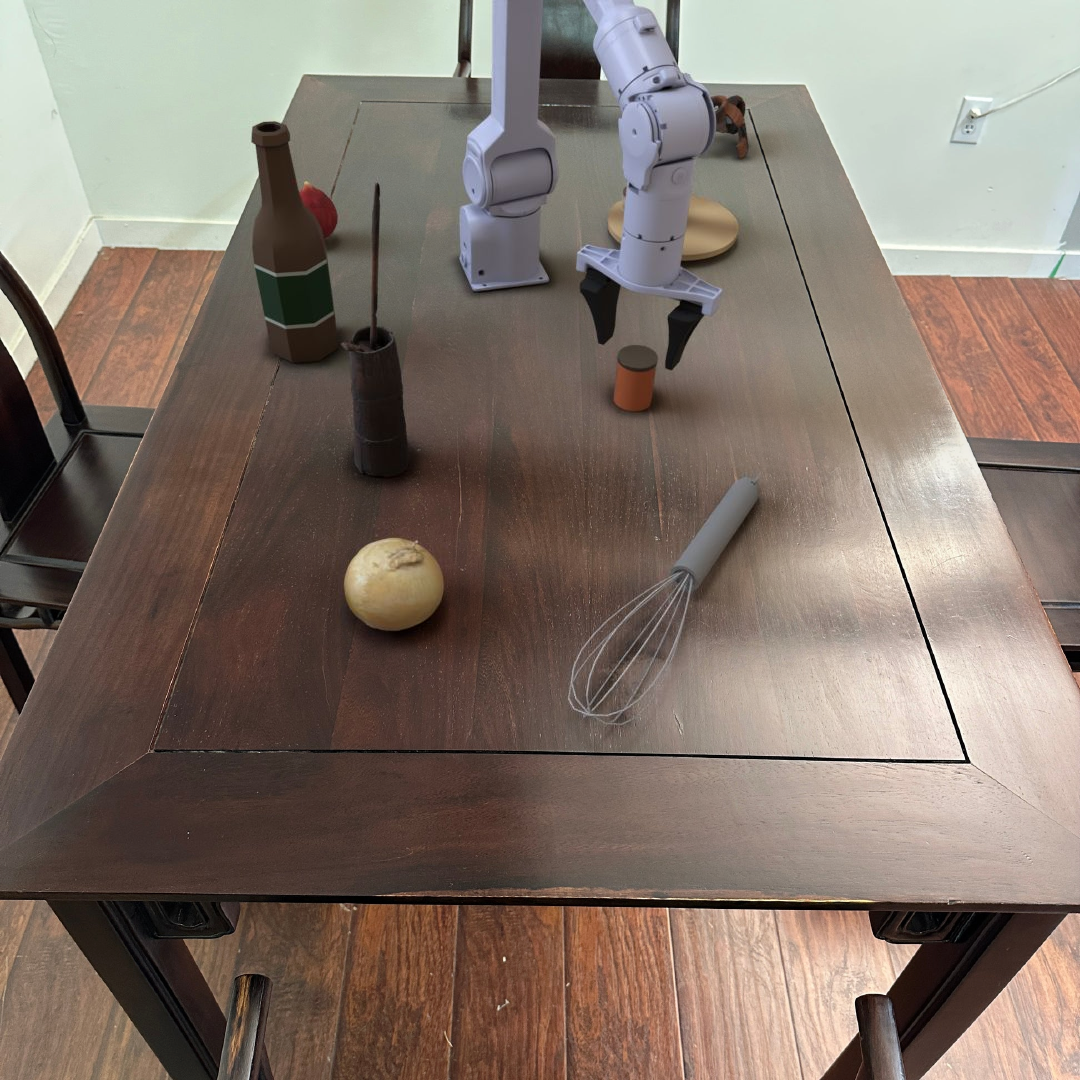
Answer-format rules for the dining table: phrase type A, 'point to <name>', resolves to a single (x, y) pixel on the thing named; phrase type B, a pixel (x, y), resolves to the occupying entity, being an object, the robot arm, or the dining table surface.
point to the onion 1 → (320, 208)
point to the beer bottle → (290, 256)
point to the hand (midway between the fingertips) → (638, 352)
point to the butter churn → (377, 386)
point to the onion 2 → (393, 584)
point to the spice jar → (635, 377)
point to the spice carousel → (692, 227)
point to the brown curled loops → (732, 119)
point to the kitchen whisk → (683, 580)
